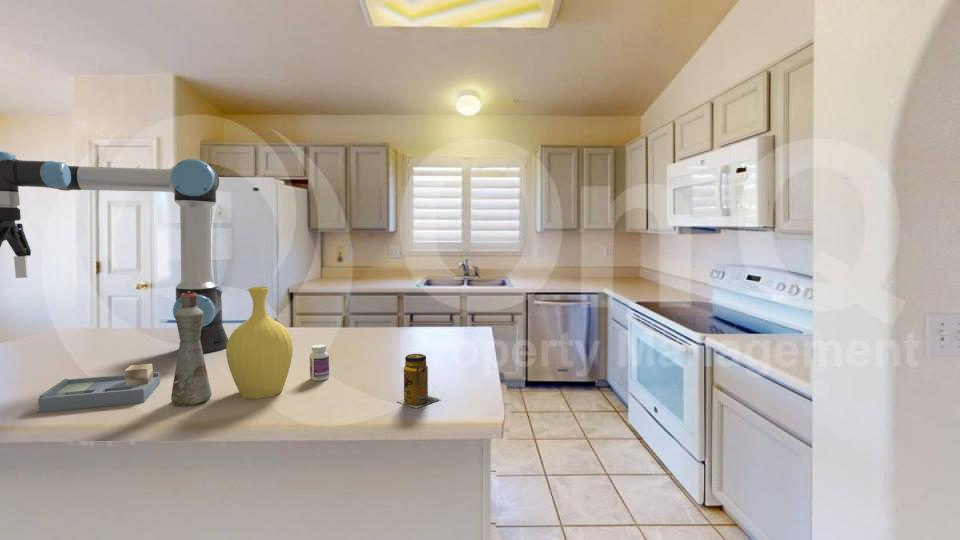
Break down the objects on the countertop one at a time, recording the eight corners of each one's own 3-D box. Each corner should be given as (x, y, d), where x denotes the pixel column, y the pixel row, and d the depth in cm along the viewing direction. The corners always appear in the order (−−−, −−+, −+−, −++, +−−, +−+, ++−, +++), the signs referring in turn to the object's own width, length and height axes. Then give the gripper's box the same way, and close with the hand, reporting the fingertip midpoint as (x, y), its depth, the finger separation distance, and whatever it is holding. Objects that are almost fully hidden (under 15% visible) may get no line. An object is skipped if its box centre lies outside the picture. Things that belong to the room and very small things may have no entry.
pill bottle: (333, 376, 145) (332, 344, 144) (321, 382, 140) (321, 348, 139) (317, 374, 147) (317, 342, 146) (306, 380, 142) (305, 347, 141)
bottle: (183, 410, 118) (178, 294, 115) (164, 403, 123) (158, 291, 120) (219, 399, 125) (214, 290, 122) (199, 393, 130) (194, 288, 127)
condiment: (396, 402, 125) (396, 356, 124) (421, 393, 131) (421, 349, 130) (416, 409, 120) (416, 361, 119) (440, 400, 127) (440, 354, 126)
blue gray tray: (159, 383, 137) (159, 370, 136) (144, 402, 123) (143, 387, 122) (66, 392, 129) (65, 378, 129) (39, 412, 115) (37, 397, 115)
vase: (279, 378, 143) (276, 282, 140) (304, 392, 131) (301, 288, 129) (219, 391, 131) (215, 287, 129) (240, 407, 120) (236, 294, 117)
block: (153, 377, 134) (152, 363, 134) (147, 383, 130) (147, 368, 129) (131, 379, 133) (130, 365, 132) (125, 385, 128) (124, 370, 128)
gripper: (12, 207, 152) (17, 276, 154) (-46, 205, 128) (-39, 285, 130) (41, 208, 154) (47, 275, 156) (-10, 205, 131) (-3, 284, 133)
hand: (8, 280), depth 143 cm, fingers open, 13 cm apart
